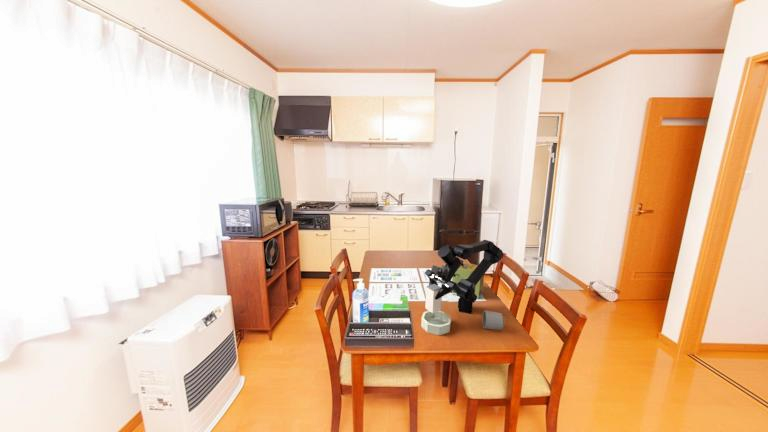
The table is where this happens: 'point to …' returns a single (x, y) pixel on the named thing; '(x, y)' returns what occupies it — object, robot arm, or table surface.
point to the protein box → (465, 273)
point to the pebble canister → (433, 298)
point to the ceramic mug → (493, 320)
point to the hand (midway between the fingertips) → (431, 296)
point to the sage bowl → (436, 322)
